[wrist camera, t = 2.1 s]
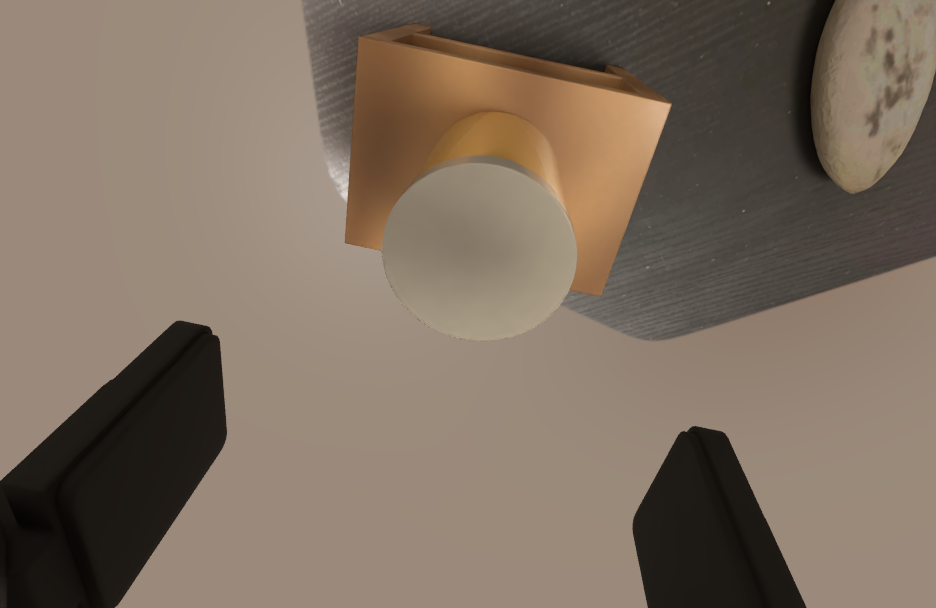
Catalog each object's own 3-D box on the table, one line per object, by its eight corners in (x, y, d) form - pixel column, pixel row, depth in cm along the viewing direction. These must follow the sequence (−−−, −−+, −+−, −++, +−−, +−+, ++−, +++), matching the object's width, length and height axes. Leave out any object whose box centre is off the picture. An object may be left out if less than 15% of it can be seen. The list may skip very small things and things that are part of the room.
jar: (416, 228, 27) (373, 321, 19) (435, 95, 24) (392, 143, 16) (541, 254, 27) (548, 357, 19) (578, 125, 24) (604, 187, 16)
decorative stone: (938, -103, 28) (985, -115, 25) (894, 173, 36) (927, 188, 33) (814, -70, 30) (845, -78, 27) (797, 191, 37) (820, 207, 34)
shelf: (396, 172, 39) (344, 243, 28) (413, 23, 34) (358, 36, 23) (579, 211, 39) (601, 296, 28) (624, 68, 34) (672, 103, 23)
